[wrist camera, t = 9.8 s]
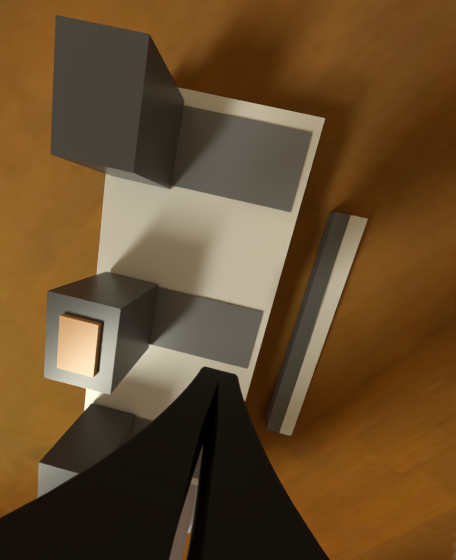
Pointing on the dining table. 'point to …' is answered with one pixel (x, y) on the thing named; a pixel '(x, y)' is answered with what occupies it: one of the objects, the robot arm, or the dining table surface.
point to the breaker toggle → (98, 330)
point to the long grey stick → (314, 318)
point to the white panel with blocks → (174, 220)
